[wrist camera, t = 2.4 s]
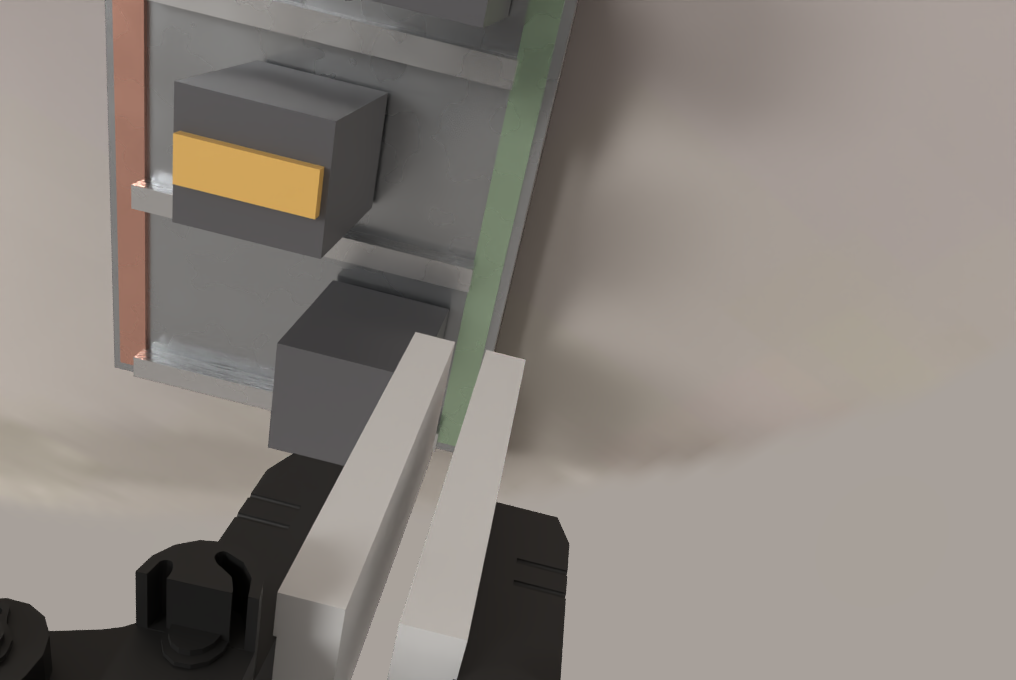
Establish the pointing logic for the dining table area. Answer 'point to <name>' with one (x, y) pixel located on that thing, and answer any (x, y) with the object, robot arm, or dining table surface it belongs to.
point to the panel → (397, 196)
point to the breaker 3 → (458, 9)
